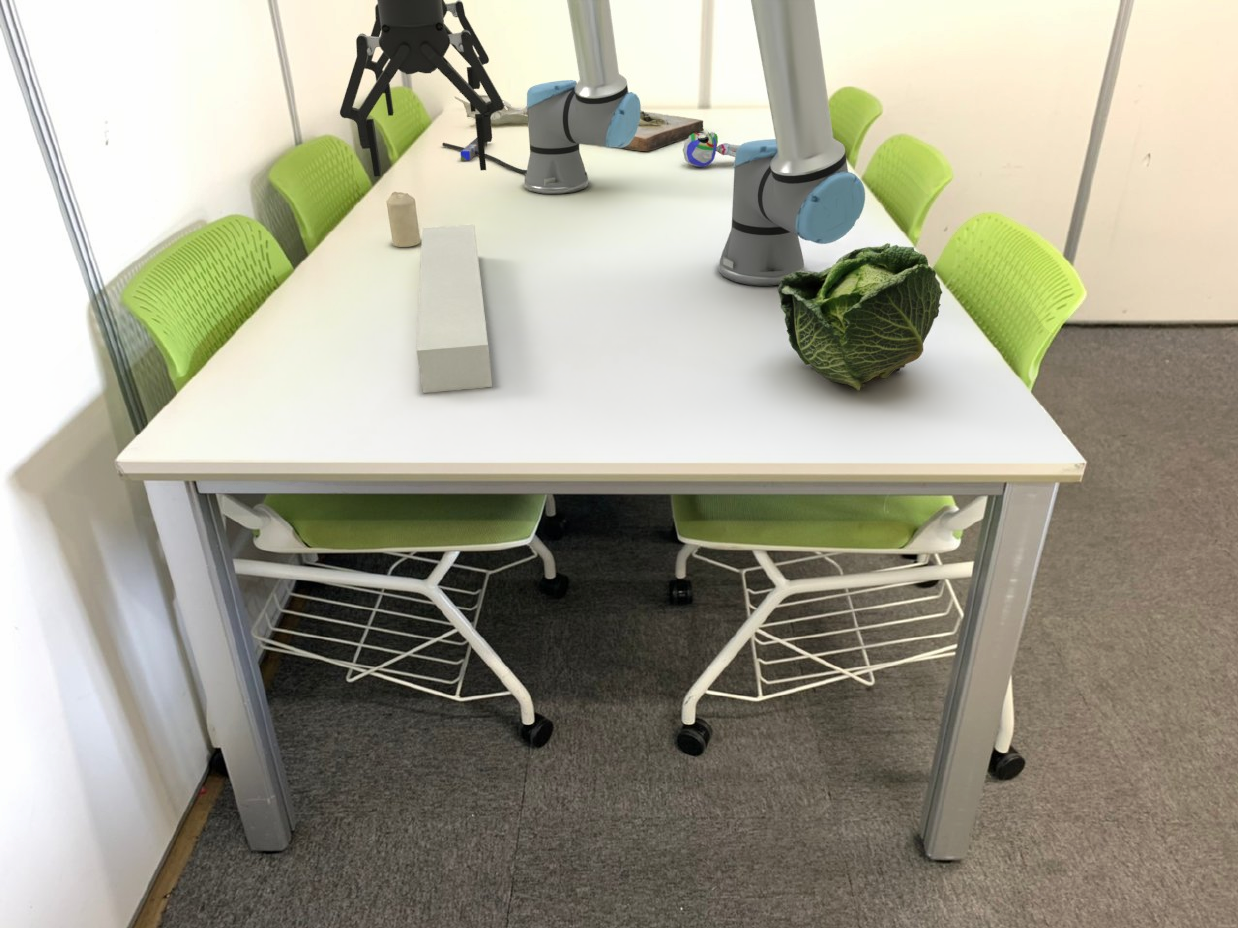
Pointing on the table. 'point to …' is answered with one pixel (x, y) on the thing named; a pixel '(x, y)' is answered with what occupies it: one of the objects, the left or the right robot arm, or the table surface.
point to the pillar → (470, 150)
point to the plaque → (662, 130)
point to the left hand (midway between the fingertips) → (432, 112)
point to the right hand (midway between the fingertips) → (430, 171)
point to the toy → (705, 149)
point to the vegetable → (862, 313)
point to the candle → (403, 219)
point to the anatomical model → (500, 112)
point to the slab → (451, 312)
